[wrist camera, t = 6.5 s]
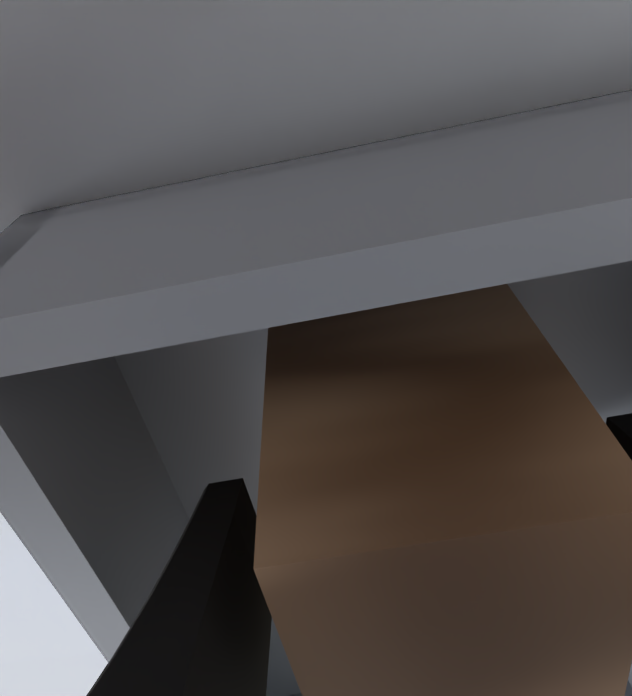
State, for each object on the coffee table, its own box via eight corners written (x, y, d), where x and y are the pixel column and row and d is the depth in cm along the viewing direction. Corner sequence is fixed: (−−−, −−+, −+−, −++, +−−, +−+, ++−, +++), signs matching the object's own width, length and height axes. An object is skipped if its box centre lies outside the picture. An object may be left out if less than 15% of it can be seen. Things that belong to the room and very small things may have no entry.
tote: (254, 694, 21) (246, 855, 17) (21, 215, 11) (-122, 342, 7) (627, 641, 20) (707, 800, 16) (732, 69, 10) (1002, 126, 6)
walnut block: (311, 469, 14) (323, 750, 9) (269, 309, 12) (253, 568, 6) (498, 439, 14) (620, 711, 9) (496, 268, 11) (664, 507, 6)
